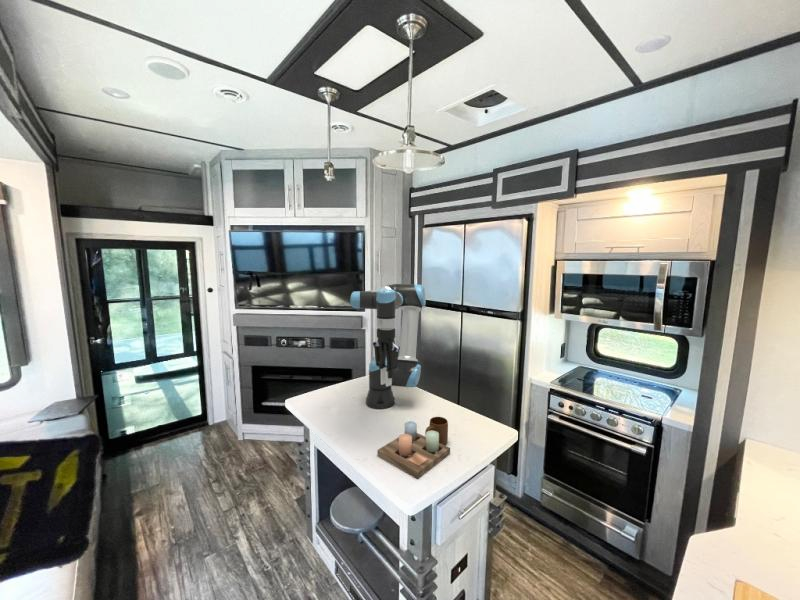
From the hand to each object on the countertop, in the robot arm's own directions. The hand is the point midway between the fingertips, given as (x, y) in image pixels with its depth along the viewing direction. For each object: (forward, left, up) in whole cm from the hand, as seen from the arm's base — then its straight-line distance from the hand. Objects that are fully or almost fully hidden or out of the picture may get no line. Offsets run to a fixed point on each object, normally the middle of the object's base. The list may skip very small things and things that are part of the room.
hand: (386, 384), depth 134 cm
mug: (-12, +17, -25) cm, 32 cm away
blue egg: (-5, +9, -22) cm, 24 cm away
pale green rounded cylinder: (-5, +20, -22) cm, 30 cm away
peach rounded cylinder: (+4, +14, -22) cm, 26 cm away
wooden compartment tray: (0, +15, -24) cm, 29 cm away
